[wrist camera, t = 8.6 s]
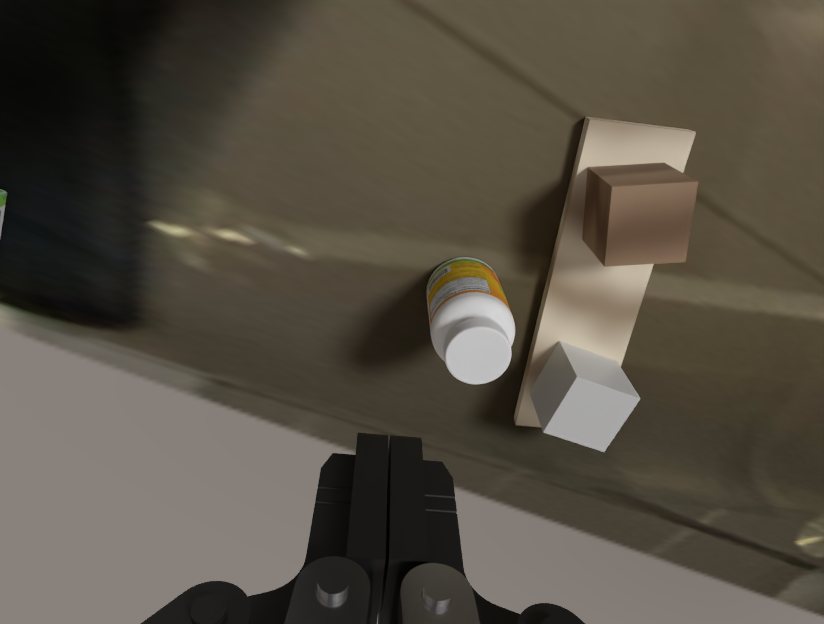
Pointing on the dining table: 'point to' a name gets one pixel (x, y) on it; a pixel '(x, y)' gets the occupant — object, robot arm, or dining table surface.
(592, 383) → the grey block
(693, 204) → the walnut block
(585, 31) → the dining table surface
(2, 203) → the syrup box
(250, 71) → the dining table surface
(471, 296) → the supplement bottle
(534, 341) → the birch strip
